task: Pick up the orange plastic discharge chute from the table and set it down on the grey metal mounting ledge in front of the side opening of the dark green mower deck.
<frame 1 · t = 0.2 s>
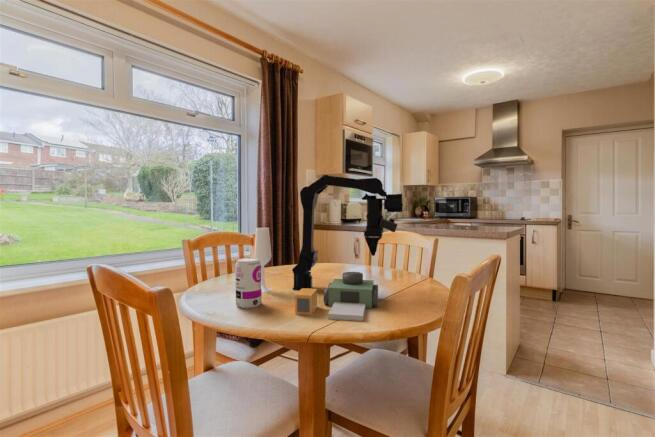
hand: (374, 253, 125), 14 cm above the table, tool pointing down, fingers open, 9 cm apart
mower deck: (352, 301, 114), on the table
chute: (306, 310, 104), on the table
supplement can: (248, 305, 109), on the table
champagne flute: (263, 291, 128), on the table
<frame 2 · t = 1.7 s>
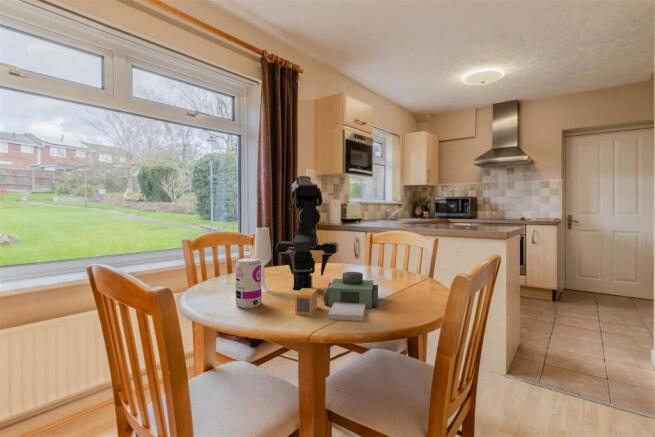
hand: (307, 274, 104), 11 cm above the table, tool pointing down, fingers open, 9 cm apart
nothing on the table moved.
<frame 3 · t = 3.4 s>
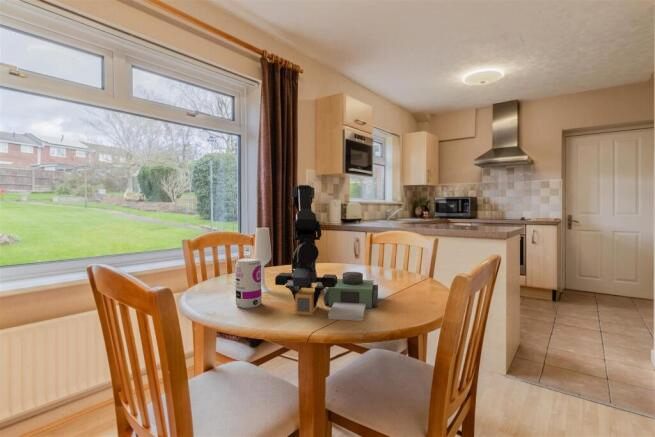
hand: (306, 307, 104), 1 cm above the table, tool pointing down, fingers closed on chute, 5 cm apart
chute: (306, 310, 104), on the table, touching gripper
everything else where it was.
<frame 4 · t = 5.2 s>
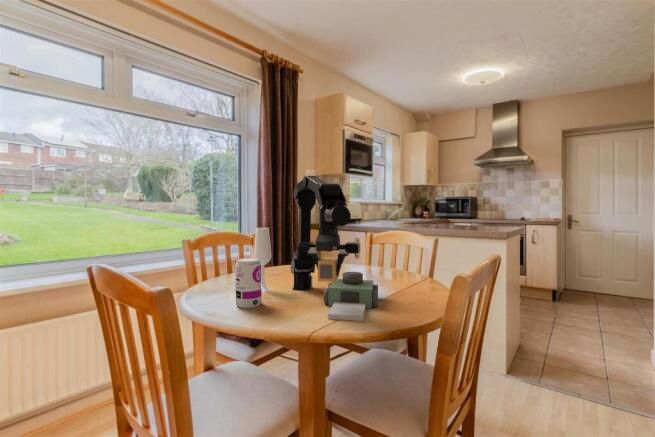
hand: (328, 275, 102), 11 cm above the table, tool pointing down, fingers closed on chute, 5 cm apart
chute: (328, 278, 102), point 10 cm above the table, touching gripper
everything else where it was.
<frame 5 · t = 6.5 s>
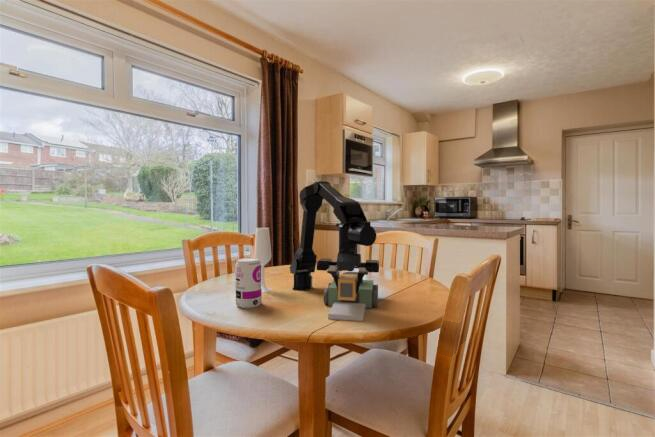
hand: (348, 293, 102), 6 cm above the table, tool pointing down, fingers closed on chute, 5 cm apart
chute: (348, 296, 102), point 5 cm above the table, touching gripper
everything else where it was.
when the fingers open (4 cm above the table, at t = 7.3 s): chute drops 1 cm, resting on mower deck.
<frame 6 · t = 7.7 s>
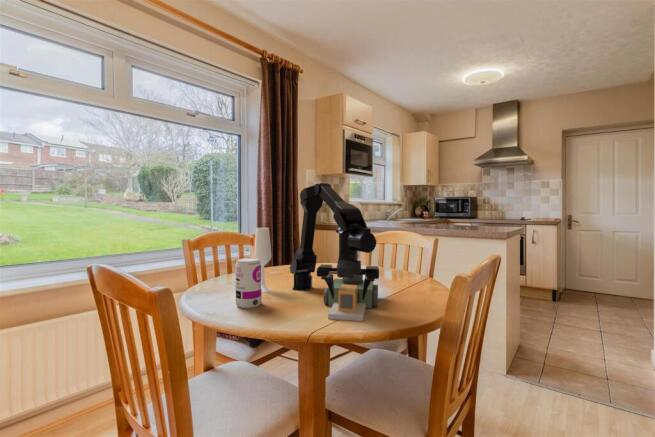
hand: (348, 299, 102), 4 cm above the table, tool pointing down, fingers open, 9 cm apart
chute: (348, 307, 102), point 1 cm above the table, touching mower deck
everything else where it was.
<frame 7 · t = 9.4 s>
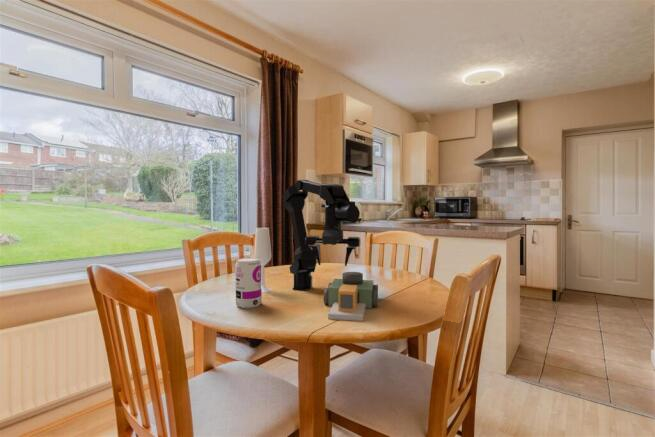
hand: (332, 265, 116), 12 cm above the table, tool pointing down, fingers open, 9 cm apart
nothing on the table moved.
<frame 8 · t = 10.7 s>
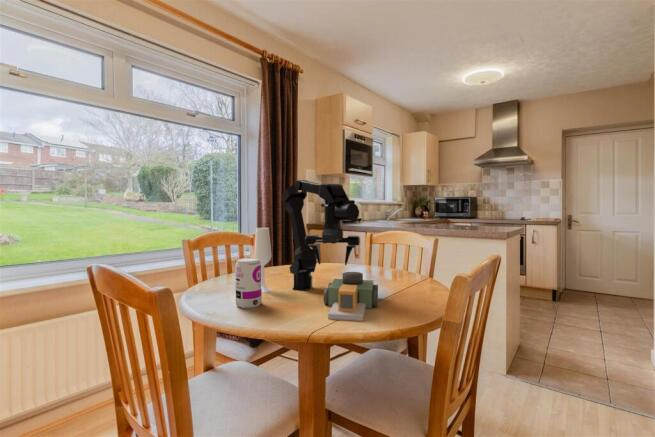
hand: (332, 264, 116), 12 cm above the table, tool pointing down, fingers open, 9 cm apart
nothing on the table moved.
at the end: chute 0.0 cm from the target spot on the mower deck, point 1.5 cm above the mower deck's base; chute tilted 0°; the gripper is holding nothing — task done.
